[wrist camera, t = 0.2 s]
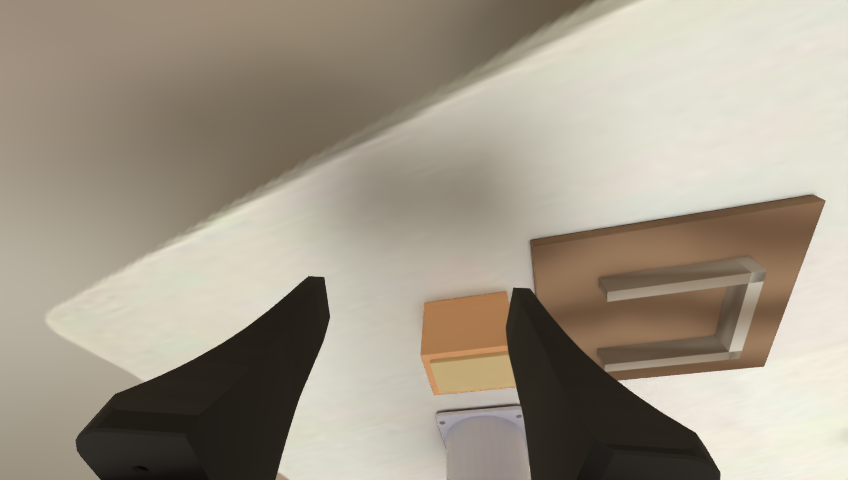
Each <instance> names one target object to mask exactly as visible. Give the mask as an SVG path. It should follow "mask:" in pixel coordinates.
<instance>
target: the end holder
mask: <svg viewBox="0 0 848 480" xmlns="http://www.w3.org/2000/svg"><path fill="white" fill-rule="evenodd" d="M824 204H825V200H823V199H821V198H819V197H817V196H815V195H808V196H802V197H796V198H790V199H784V200H777V201H771V202H765V203H759V204H753V205H747V206H740V207H734V208H728V209H722V210H716V211H709V212H703V213H697V214H691V215H685V216H678V217H672V218H666V219H660V220H654V221H647V222H641V223H635V224H629V225H623V226H616V227H610V228H604V229H598V230H592V231H585V232H579V233H573V234H567V235H561V236H554V237H548V238H542V239H536V240H531V251H532V261H533V272H534V283H535V294H536V297H537V298H538V300H539V301H540V302H541V303H542V305H543V306H544V307H545V309H546V310H547V311H548V312H549V314H550V315H551V316H552V317H553V319H554V320H555V321H556V322H557V323H558V324H559V326H560V327H561V328H562V329H563V330H564V331H565V333H566V334H567V335H568V336H569V337H570V338H571V339H572V340H573V341H574V342H575V343H576V344H577V345H578V347H579V348H580V349H581V350H582V351H584V352H585V353H586V354H587V355H588V356H589V357H590V358H591V359H592V360H593V361H594V362H595V363H597V364H598V365H599V366H600V367H601V368H602V369H603V370H604V371H606V372H607V373H608V374H609V375H610V376H612V377H613V378H614V379H616V380H628V379H638V378H649V377H659V376H670V375H680V374H691V373H701V372H711V371H722V370H732V369H743V368H753V367H764V365H765V363H766V360H767V357H768V355H769V352H770V349H771V347H772V344H773V341H774V338H775V336H776V333H777V330H778V328H779V325H780V322H781V320H782V317H783V314H784V312H785V309H786V306H787V303H788V301H789V298H790V295H791V293H792V290H793V287H794V285H795V282H796V279H797V277H798V274H799V271H800V268H801V266H802V263H803V260H804V258H805V255H806V252H807V250H808V247H809V244H810V242H811V239H812V236H813V233H814V231H815V228H816V225H817V223H818V220H819V217H820V215H821V212H822V209H823V207H824Z"/></svg>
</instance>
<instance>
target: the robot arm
mask: <svg viewBox="0 0 848 480" xmlns="http://www.w3.org/2000/svg"><path fill="white" fill-rule="evenodd" d="M329 319H330V313H329V306H328V300H327V293H326V286H325V279H324V277H313V276H308V277H307V278H306V279H305V280H304V281H302V282H301V283H300V284H299V285H298V286H297V287H296V288H294V289H293V290H292V291H291V292H290V293H289V294H288V295H286V296H285V297H284V298H283V299H282V300H281V301H279V302H278V303H277V304H276V305H275V306H273V307H272V308H271V309H270V310H269V311H267V312H266V313H265V314H263V315H262V316H261V317H259V318H258V319H257V320H256V321H254V322H253V323H252V324H250V325H249V326H248V327H246V328H245V329H243V330H242V331H240V332H239V333H237V334H236V335H234V336H233V337H231V338H230V339H228V340H227V341H225V342H223V343H222V344H220V345H218V346H217V347H215V348H213V349H211V350H210V351H208V352H206V353H204V354H202V355H201V356H199V357H197V358H195V359H194V360H192V361H190V362H188V363H186V364H184V365H182V366H180V367H178V368H176V369H173V370H171V371H169V372H167V373H165V374H163V375H161V376H158V377H156V378H154V379H151V380H149V381H147V382H144V383H142V384H139V385H137V386H134V387H132V388H130V389H127V390H125V391H122V392H120V393H117V394H115V395H114V396H113V397H112V398H111V399H110V400H109V401H108V402H107V404H106V405H105V406H104V407H103V408H102V409H101V410H100V411H99V413H98V414H97V415H96V416H95V417H94V418H93V419H92V420H91V421H90V423H89V424H88V425H87V426H86V427H85V428H84V429H83V431H81V433H80V434H79V435H78V437H77V439H76V447H77V451H78V453H79V454H80V456H81V457H82V458H83V460H84V461H85V462H86V463H87V464H88V465H89V467H90V468H91V469H92V470H93V471H94V472H95V474H96V475H97V476H98V477H99V478H100V479H101V480H275V479H276V475H277V472H278V468H279V464H280V460H281V457H282V453H283V450H284V446H285V443H286V439H287V436H288V432H289V429H290V426H291V423H292V419H293V416H294V413H295V410H296V407H297V404H298V401H299V398H300V396H301V393H302V391H303V388H304V386H305V383H306V381H307V379H308V376H309V374H310V372H311V369H312V367H313V365H314V362H315V360H316V358H317V355H318V353H319V351H320V348H321V346H322V343H323V341H324V337H325V334H326V331H327V327H328V323H329ZM506 337H507V346H508V353H509V358H510V362H511V366H512V371H513V375H514V379H515V383H516V387H517V392H518V396H519V400H520V404H521V406H511V407H499V408H488V409H477V410H466V411H454V412H443V413H438V414H437V415H436V421H437V424H438V427H439V430H440V432H441V435H442V438H443V441H444V444H445V447H446V449H447V480H720V471H719V469H718V468H717V466H716V464H715V463H714V461H713V459H712V457H711V456H710V454H709V452H708V450H707V449H706V447H705V446H704V444H703V443H702V441H701V440H700V438H699V437H698V435H697V434H696V433H695V432H693V431H692V430H690V429H688V428H687V427H685V426H683V425H682V424H680V423H678V422H677V421H675V420H673V419H672V418H670V417H668V416H667V415H665V414H663V413H662V412H660V411H659V410H657V409H656V408H654V407H653V406H651V405H650V404H648V403H647V402H645V401H644V400H642V399H641V398H639V397H638V396H637V395H635V394H634V393H633V392H631V391H630V390H628V389H627V388H626V387H625V386H623V385H622V384H621V383H619V382H618V381H617V380H616V379H614V378H613V377H612V376H610V375H609V374H608V373H607V372H606V371H604V370H603V369H602V368H601V367H600V366H599V365H598V364H597V363H595V362H594V361H593V360H592V359H591V358H590V357H589V356H588V355H587V354H586V353H585V352H584V351H582V350H581V349H580V348H579V347H578V345H577V344H576V343H575V342H574V341H573V340H572V339H571V338H570V337H569V336H568V335H567V334H566V333H565V331H564V330H563V329H562V328H561V327H560V326H559V324H558V323H557V322H556V321H555V320H554V319H553V317H552V316H551V315H550V314H549V312H548V311H547V310H546V309H545V307H544V306H543V305H542V303H541V302H540V301H539V300H538V298H537V297H536V296H535V294H534V293H533V292H532V291H531V289H529V288H513V292H512V298H511V303H510V308H509V313H508V318H507V323H506ZM529 465H530V470H529ZM530 473H531V476H530Z"/></svg>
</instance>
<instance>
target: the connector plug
mask: <svg viewBox="0 0 848 480" xmlns="http://www.w3.org/2000/svg"><path fill="white" fill-rule="evenodd" d="M509 308H510V306H509V302H508V297H507V293H506V291H505V292H498V293H491V294H484V295H477V296H470V297H462V298H455V299H448V300H441V301H434V302H427V303H425V304H424V317H423V330H422V343H421V358H422V361H423V364H424V367H425V370H426V373H427V376H428V379H429V382H430V385H431V388H432V391H433V394H434V395H442V394H452V393H462V392H472V391H482V390H492V389H503V388H513V387H516V383H515V379H514V375H513V371H512V366H511V362H510V358H509V353H508V346H507V337H506V323H507V318H508V313H509Z"/></svg>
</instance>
